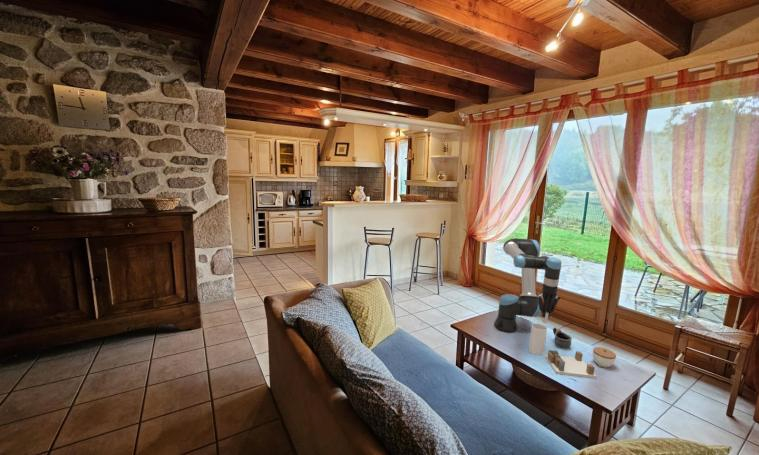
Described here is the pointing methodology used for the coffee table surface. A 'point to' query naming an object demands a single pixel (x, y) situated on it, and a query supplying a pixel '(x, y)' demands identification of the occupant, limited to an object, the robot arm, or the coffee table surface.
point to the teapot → (561, 338)
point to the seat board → (572, 366)
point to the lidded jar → (603, 357)
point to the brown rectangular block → (556, 358)
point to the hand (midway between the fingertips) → (544, 322)
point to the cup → (537, 339)
